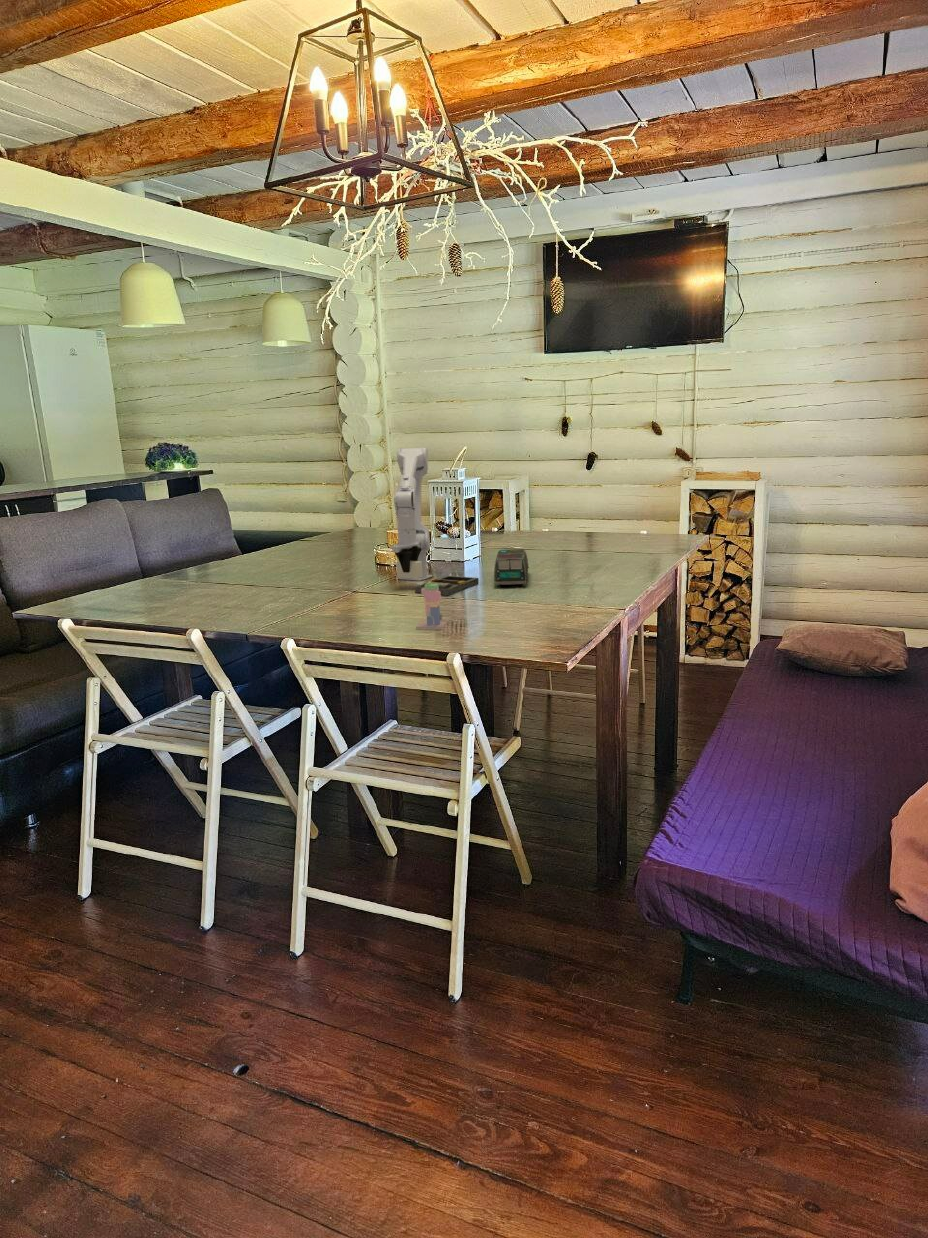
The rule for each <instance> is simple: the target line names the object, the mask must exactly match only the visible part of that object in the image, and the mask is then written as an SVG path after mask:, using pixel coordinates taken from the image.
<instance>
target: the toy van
mask: <svg viewBox="0 0 928 1238" xmlns="http://www.w3.org/2000/svg"><path fill="white" fill-rule="evenodd" d="M526 552H527V551H526V550H525V549H522V548H521V549H519V548H509V549H507V548H506V549H501V550H500V549H499V550H498V552H497V554H496V557H495V564H494V570H493V571H494V572H493V580H494V585H495V587H497V588H499V587H501V585H502V586H503V585H506V586H507V585H509V586H510V585H521V587H526V586H527V579H528V577H529V568H530V566H529V561H528V560H529V559H528V555H527V553H526Z"/></svg>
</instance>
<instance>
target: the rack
mask: <svg viewBox="0 0 928 1238" xmlns="http://www.w3.org/2000/svg"><path fill="white" fill-rule="evenodd" d="M429 581H431V584H438V585H439V591H441V597H444V596H445V597H449V596H451V595H454V594H456V593H459V592H462V591H465V590H467V589H469V588H471V587H474V586H478V585H479V584H480V582H479V577H473V576H471V577H470V576H457V575H445V576H442V577H439V578H431V579H429V580H428V581H427V582H423V583H422V584H419V585H416V586H414V594H418V595H420V594H421V589H422V588H424V586H425V585H426V584H427V583H428V582H429ZM421 595H422V594H421Z"/></svg>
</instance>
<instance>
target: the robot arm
mask: <svg viewBox="0 0 928 1238" xmlns="http://www.w3.org/2000/svg"><path fill="white" fill-rule="evenodd" d="M396 455H397V456H396V457H397V458H396V459H397V464H398V468H399V472H400V474H401V476H400V478H398V485H397V491H396V493H394V495H393V504H394V508H395V515H396V521H397V522H396V523H397V539H398V543H395V545H392V546H391V551H392V553H394V554H395V556H396V558H397V561H400V564H401V567H402V570H403V572H407V573H408V572H409V571H410V561H422V573H423V577H420V578H405V577H397V580H403V581H404V580H405V581H407V580H408V581H415V582H416V581H418V582H421V581H424V580H426V579H430V578H432V577H433V574H432V575H431V574H428V566H427V565H428V562H427V552H428V551H430V548H431V537H430V530H429V528H428V527H427V526H426V525H425V524H423V523H422V481H423V477H425V476H426V475H427V474H428V470H429V453H428V449H427V448H426V447H424V446H423V447H411V448H402V447H399V448H398V449H397V452H396Z"/></svg>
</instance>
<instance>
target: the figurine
mask: <svg viewBox="0 0 928 1238" xmlns="http://www.w3.org/2000/svg"><path fill="white" fill-rule="evenodd" d="M427 582H428V583H427ZM427 582H426V583H427V584H426V585H425V586H424V588H422V589H421V595H424V603H425V604H424V605H425V617H426V621H420V622H419V623H418V624H417V625H416V626H415V630H439V631H440V630H443V629H444V628H445V627H446V625H448V623H447V622H448V621H442V620H443V614H442V613H441V606H440V600H441V599H442V596H441V591H439V585H438V584H431V581H429V580H428V581H427Z"/></svg>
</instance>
